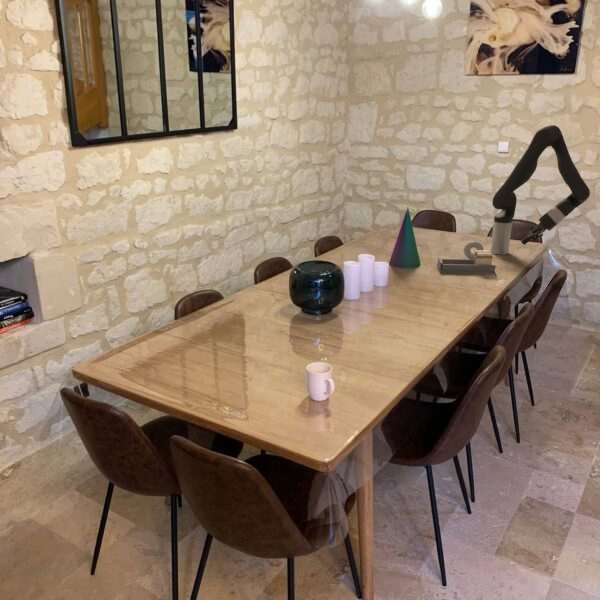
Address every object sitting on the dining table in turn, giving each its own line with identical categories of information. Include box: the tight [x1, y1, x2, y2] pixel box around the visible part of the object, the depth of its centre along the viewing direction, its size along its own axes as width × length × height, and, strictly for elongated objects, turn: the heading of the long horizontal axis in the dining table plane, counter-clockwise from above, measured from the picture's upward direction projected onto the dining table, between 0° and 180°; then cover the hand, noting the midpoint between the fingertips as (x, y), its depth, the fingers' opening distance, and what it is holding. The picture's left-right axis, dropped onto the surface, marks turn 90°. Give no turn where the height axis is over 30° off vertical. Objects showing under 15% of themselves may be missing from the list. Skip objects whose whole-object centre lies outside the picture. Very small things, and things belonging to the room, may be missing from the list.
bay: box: [436, 256, 497, 275], centre depth 289 cm, size 14×26×5 cm, turn 85°
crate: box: [474, 249, 494, 265], centre depth 288 cm, size 7×7×8 cm
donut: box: [463, 240, 485, 259], centre depth 306 cm, size 10×4×10 cm, turn 76°
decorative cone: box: [388, 206, 422, 269], centre depth 296 cm, size 16×16×30 cm
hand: (522, 243), depth 283 cm, fingers closed
